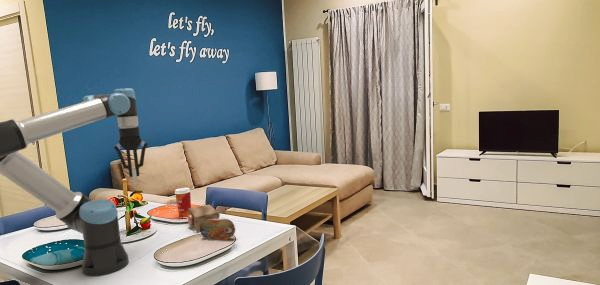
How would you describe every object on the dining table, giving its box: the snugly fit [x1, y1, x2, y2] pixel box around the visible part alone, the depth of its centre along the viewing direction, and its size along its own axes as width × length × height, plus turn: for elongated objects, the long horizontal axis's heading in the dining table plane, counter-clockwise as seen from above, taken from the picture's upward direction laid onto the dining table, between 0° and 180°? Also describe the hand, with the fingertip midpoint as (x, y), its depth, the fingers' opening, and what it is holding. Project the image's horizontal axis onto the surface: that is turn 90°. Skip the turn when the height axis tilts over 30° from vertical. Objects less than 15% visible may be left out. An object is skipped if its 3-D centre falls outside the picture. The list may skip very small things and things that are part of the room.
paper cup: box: [174, 187, 192, 218], centre depth 200 cm, size 8×8×14 cm
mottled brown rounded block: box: [199, 218, 236, 241], centre depth 167 cm, size 15×3×8 cm, turn 73°
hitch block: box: [188, 204, 220, 233], centre depth 186 cm, size 10×16×7 cm, turn 26°
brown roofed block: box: [187, 210, 221, 227], centre depth 186 cm, size 14×5×5 cm, turn 116°
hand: (135, 184), depth 168 cm, fingers closed
